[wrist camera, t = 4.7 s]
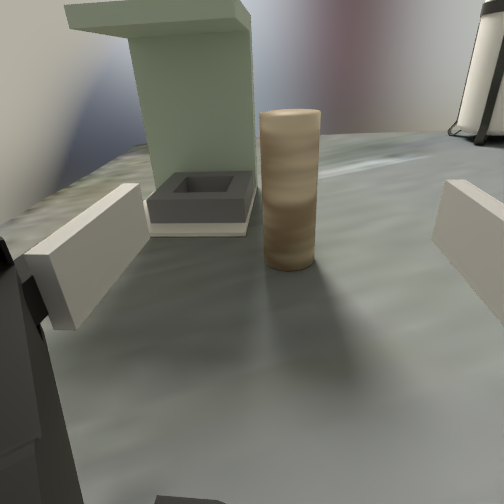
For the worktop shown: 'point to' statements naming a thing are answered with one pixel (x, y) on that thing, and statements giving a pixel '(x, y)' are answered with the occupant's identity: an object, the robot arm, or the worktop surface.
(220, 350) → the worktop surface
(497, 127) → the coffee press
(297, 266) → the peg
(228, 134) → the awning socket
